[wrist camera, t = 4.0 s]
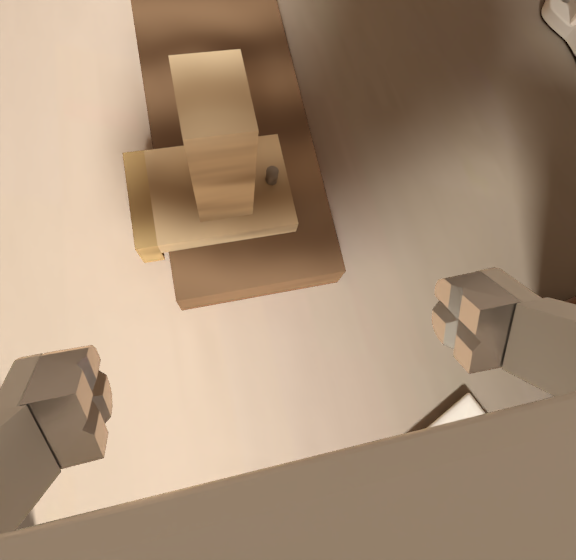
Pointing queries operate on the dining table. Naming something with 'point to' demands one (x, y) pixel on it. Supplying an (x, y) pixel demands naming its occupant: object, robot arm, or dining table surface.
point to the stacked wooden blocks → (209, 166)
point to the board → (270, 120)
